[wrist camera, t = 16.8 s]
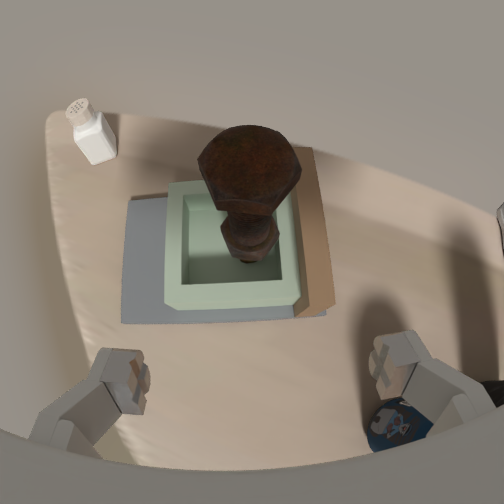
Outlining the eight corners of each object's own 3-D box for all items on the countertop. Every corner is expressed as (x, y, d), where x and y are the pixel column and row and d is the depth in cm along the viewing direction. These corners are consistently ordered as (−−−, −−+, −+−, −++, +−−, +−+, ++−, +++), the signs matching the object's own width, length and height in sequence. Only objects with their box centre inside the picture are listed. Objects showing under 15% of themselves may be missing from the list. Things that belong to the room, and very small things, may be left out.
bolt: (215, 233, 31) (188, 137, 16) (261, 215, 31) (269, 111, 17) (237, 286, 29) (224, 221, 15) (286, 266, 30) (316, 187, 15)
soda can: (414, 448, 26) (476, 476, 14) (360, 458, 26) (409, 500, 14) (419, 392, 28) (488, 403, 17) (365, 400, 28) (422, 420, 17)
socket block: (177, 310, 30) (164, 303, 25) (179, 205, 33) (168, 182, 29) (293, 304, 30) (301, 296, 25) (283, 199, 34) (288, 175, 29)
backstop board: (124, 323, 30) (83, 313, 22) (131, 204, 35) (101, 163, 26) (324, 315, 31) (351, 302, 22) (308, 193, 35) (325, 147, 27)
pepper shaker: (118, 158, 37) (91, 112, 28) (92, 168, 36) (60, 125, 27) (117, 137, 38) (92, 91, 29) (92, 146, 38) (64, 103, 29)
